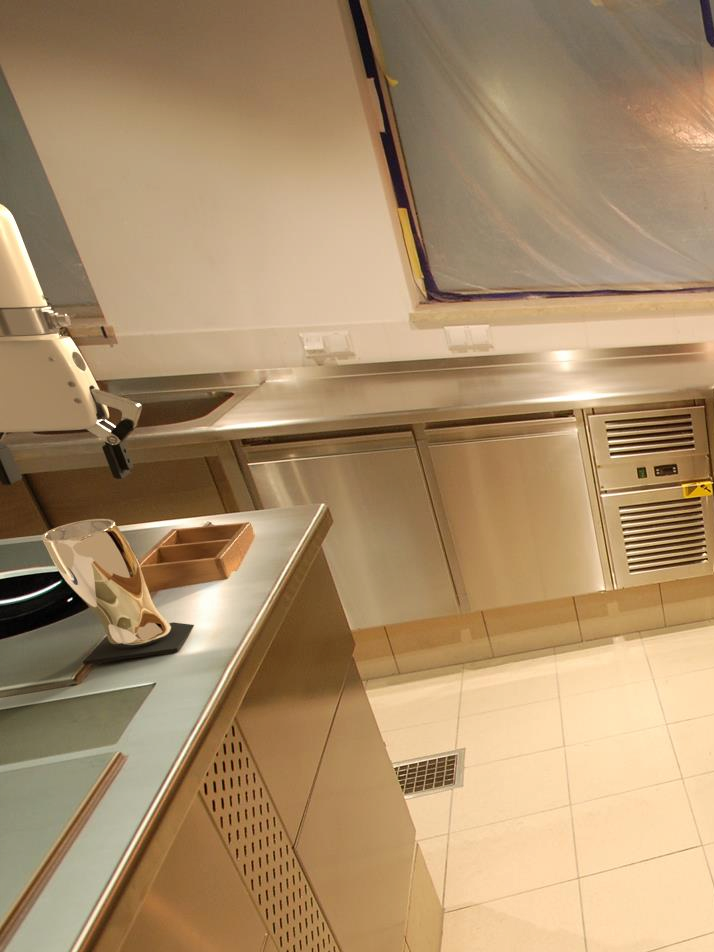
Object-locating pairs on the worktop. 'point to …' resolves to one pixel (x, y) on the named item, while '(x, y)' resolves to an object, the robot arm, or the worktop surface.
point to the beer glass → (107, 580)
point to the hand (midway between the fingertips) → (69, 479)
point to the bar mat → (162, 646)
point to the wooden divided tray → (196, 555)
